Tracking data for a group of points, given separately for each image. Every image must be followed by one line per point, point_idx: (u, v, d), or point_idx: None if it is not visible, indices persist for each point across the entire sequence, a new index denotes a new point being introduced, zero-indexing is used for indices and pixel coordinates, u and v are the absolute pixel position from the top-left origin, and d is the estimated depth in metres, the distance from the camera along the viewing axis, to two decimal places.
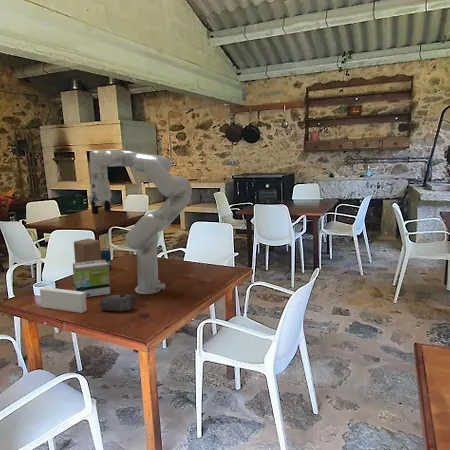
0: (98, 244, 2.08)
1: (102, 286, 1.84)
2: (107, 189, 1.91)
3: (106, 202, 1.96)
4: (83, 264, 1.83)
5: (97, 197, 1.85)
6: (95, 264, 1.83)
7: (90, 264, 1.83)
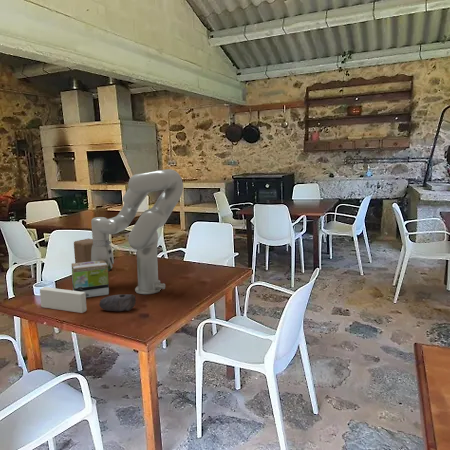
0: None
1: (101, 287, 1.83)
2: None
3: None
4: (82, 264, 1.82)
5: (113, 261, 1.93)
6: (94, 264, 1.82)
7: (89, 264, 1.82)
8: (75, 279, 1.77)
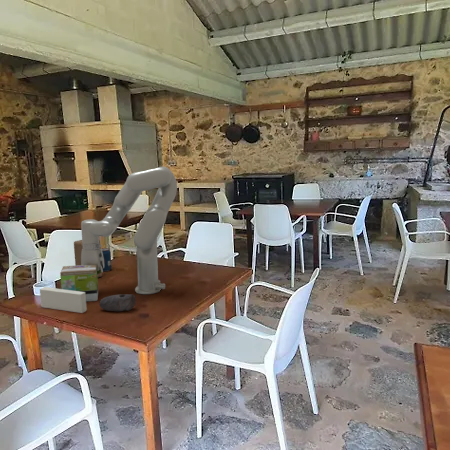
0: None
1: (89, 292, 1.76)
2: None
3: None
4: (71, 268, 1.76)
5: (103, 265, 1.86)
6: (82, 269, 1.76)
7: (77, 268, 1.76)
8: (62, 283, 1.72)
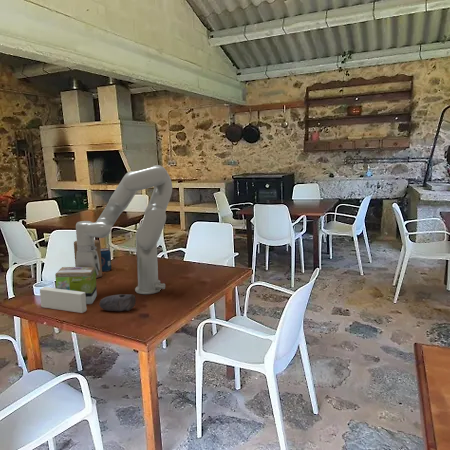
0: (98, 244, 2.08)
1: None
2: None
3: None
4: (67, 269, 1.75)
5: (99, 267, 1.83)
6: (78, 271, 1.73)
7: (73, 270, 1.74)
8: (57, 284, 1.71)
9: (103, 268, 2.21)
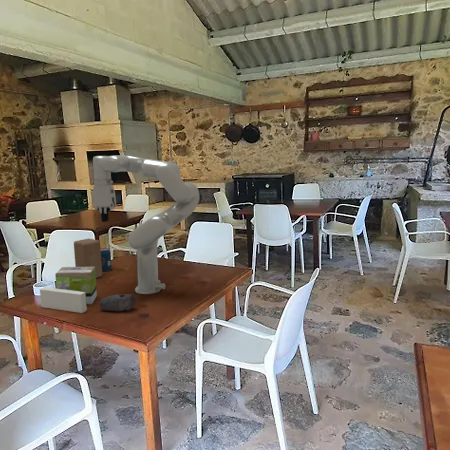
0: (98, 244, 2.08)
1: None
2: None
3: (103, 212, 1.88)
4: (67, 269, 1.75)
5: (115, 202, 1.87)
6: (78, 271, 1.73)
7: (73, 270, 1.74)
8: (57, 284, 1.71)
9: (103, 268, 2.21)
